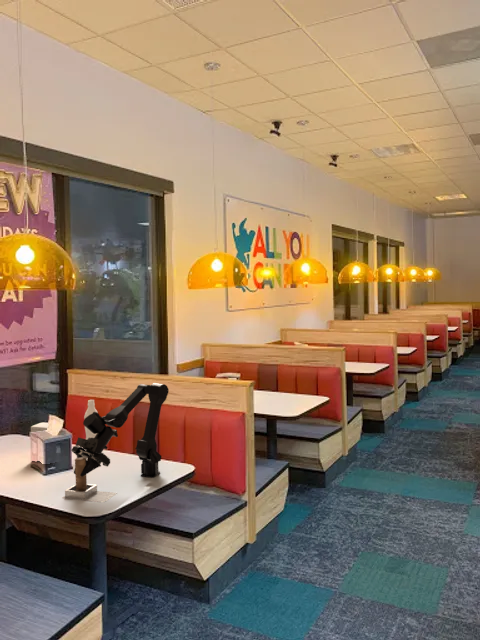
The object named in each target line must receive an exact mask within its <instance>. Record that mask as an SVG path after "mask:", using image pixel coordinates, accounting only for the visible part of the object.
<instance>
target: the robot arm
mask: <svg viewBox="0 0 480 640" xmlns="http://www.w3.org/2000/svg"><path fill="white" fill-rule="evenodd" d="M147 395H148V399H149V400H148V401H149V408H148V412H147V418H146V423H145V428H144V433H143V435H142V437H141V439H137V441H136V447H135V450H136V452H135V453H136V455H137V457H138V459H139V460H140V461H141V465H140V471H141V474H140V477H146V478H147V477H148V478H155V477H157V476H158V475H159V474H161V471H160V470H159V462H161V461H162V455H161V454H160V453H159V452H158V450H157V449H158V445H157V440H156V433H157V430H158V426H159V425H158V423H159V419H160V414H161V409H162V406H163V404H164V403H165V402H166V401H167V397H168V395H169V387H168V386H167V384H164V383H158V382H153V383H152V384H143V383H140V384H138V385H137V387H136V388H135V389H134V391H132V393H131V394H130V395H129V396H128V397H127V398H126V399H125V400H124V401H122V403H121V404H120V405H119V406H117V407H115V408H112V409H111V410H110V411H109V412H107V413H106V414H105V415H104V416H101V415H100V414H99V412H98V411H97V412H98V413H97V412H93V413H92V414H90V415H89V416H87V417H86V418H83V419H84V420H83V422H82V424H83V426H84V428H85V427H86V428H88V429H89V430H90V431H91V432H92V433H93V434H96V433H97V434H96V436H95V437H94V438H88V439H87V440H86V438H82V437H80V436H79V437H77V441H76V442H75V445H74V446H73V447H72V448H71V450H70V451H71V452H72V453H73V454H74V455H75V456H76V458H80V457H84V458H86V465H85V467H84V469H83V471H82V472H81V475H80V476H81V477H83V476H85V475H86V476H87V474H89V473H91V472H92V471H94V470H96V469H97V468H100V467H102V466H104V467H106V468H107V467H109V466H110V464H111V459H110V457H108V456H107V455H106V454H105V453H104V452H103V451H104V450H107V449H108V446H107V445H108V443H109V442H110V441H111V439H112V438H113V437H115V438H118V436H119V434H118V429H120V428H122V427H123V426H124V425H125V423H126V421H127V420H128V417H129V414H130V413H131V412H132V411H133V410H134V409H135V408H136V407H137V406H138V404H139V403H140V402H141V401H142V400H143V399H144V398H145V397H146V396H147ZM113 428H116V429H113ZM101 464H102V465H101ZM73 474H74V475H75V469H73Z"/></svg>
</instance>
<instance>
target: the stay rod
mask: <svg viewBox="0 0 480 640" xmlns="http://www.w3.org/2000/svg"><path fill="white" fill-rule="evenodd" d="M86 460H87V459H86V458H84V457H80V458H77V457H76V458H75V459H74V470H75V474H74V475H75V484H76V491H83V492H84V491H86V490H87V484H88V483H87V480H88V479H87V474H86V475H85V476H83V477H81V476H80V475H81V472H82V471H83V469H84V467H85V465H86Z"/></svg>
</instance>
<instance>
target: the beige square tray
mask: <svg viewBox="0 0 480 640" xmlns="http://www.w3.org/2000/svg"><path fill="white" fill-rule="evenodd" d="M97 491H98V485H97V484H91V483H87V490H86V491H84V492H83V491H76V483H75V484H74V485H72V486H69V487H68V488H67V489H65V490H64V496H65V497H70V498H79V499H86V498H88V497H89V496H91V495H92V494H94V493H95V492H97Z"/></svg>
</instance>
